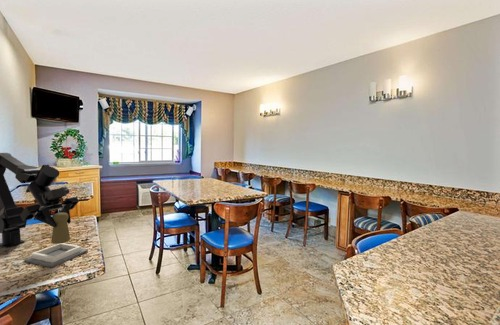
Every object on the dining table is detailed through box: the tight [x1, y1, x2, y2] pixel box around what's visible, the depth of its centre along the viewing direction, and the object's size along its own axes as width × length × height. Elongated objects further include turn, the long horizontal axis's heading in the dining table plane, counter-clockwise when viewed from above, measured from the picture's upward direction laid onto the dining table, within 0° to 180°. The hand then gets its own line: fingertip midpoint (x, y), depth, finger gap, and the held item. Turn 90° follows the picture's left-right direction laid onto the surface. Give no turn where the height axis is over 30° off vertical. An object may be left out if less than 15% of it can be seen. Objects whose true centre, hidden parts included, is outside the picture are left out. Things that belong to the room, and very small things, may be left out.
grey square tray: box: [23, 242, 88, 268], centre depth 99 cm, size 14×14×3 cm
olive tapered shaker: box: [50, 212, 71, 245], centre depth 99 cm, size 6×6×11 cm
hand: (63, 224), depth 99 cm, fingers closed on olive tapered shaker, 5 cm apart
